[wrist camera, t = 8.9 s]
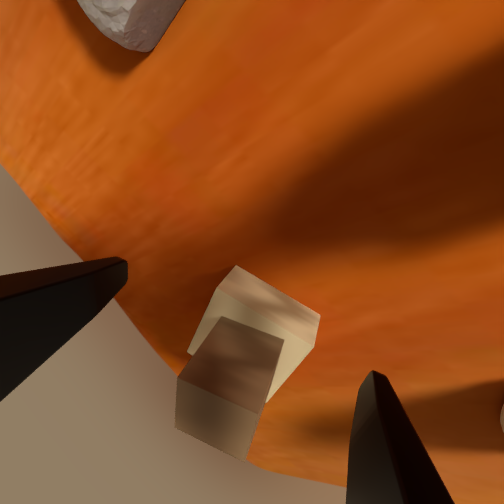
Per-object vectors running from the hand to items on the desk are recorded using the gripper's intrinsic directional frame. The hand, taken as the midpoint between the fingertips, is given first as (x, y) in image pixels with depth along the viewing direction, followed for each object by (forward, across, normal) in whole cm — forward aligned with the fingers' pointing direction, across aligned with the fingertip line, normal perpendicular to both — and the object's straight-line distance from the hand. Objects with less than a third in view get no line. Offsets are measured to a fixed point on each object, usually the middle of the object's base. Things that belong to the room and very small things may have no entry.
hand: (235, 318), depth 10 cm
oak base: (+12, +1, +11) cm, 16 cm away
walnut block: (+8, 0, +11) cm, 14 cm away
